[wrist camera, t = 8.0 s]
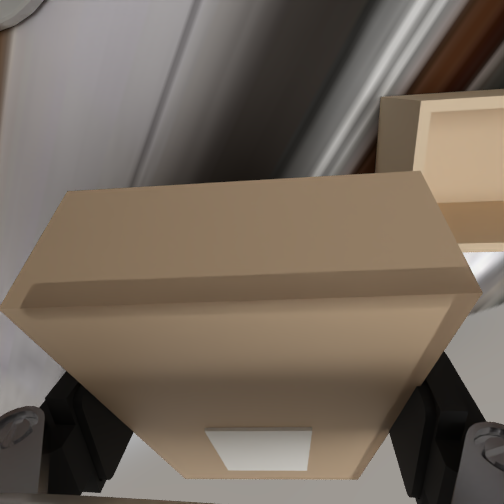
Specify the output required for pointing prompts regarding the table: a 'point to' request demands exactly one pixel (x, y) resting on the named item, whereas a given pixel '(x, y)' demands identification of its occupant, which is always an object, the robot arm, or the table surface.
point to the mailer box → (451, 157)
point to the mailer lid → (250, 314)
